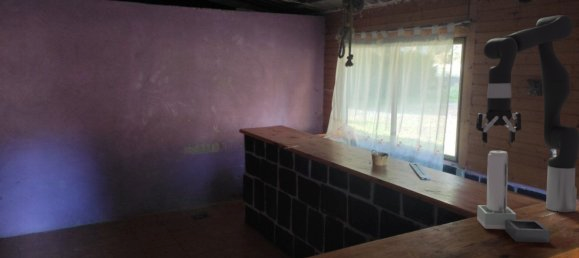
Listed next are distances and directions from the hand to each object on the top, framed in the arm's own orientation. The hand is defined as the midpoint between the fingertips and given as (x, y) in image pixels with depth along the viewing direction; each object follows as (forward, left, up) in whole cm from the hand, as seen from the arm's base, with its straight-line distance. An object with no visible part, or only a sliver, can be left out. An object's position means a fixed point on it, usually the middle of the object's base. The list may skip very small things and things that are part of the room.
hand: (497, 142), depth 153 cm
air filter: (0, 0, -28) cm, 28 cm away
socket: (-6, +12, -30) cm, 33 cm away
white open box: (0, 0, -30) cm, 30 cm away
